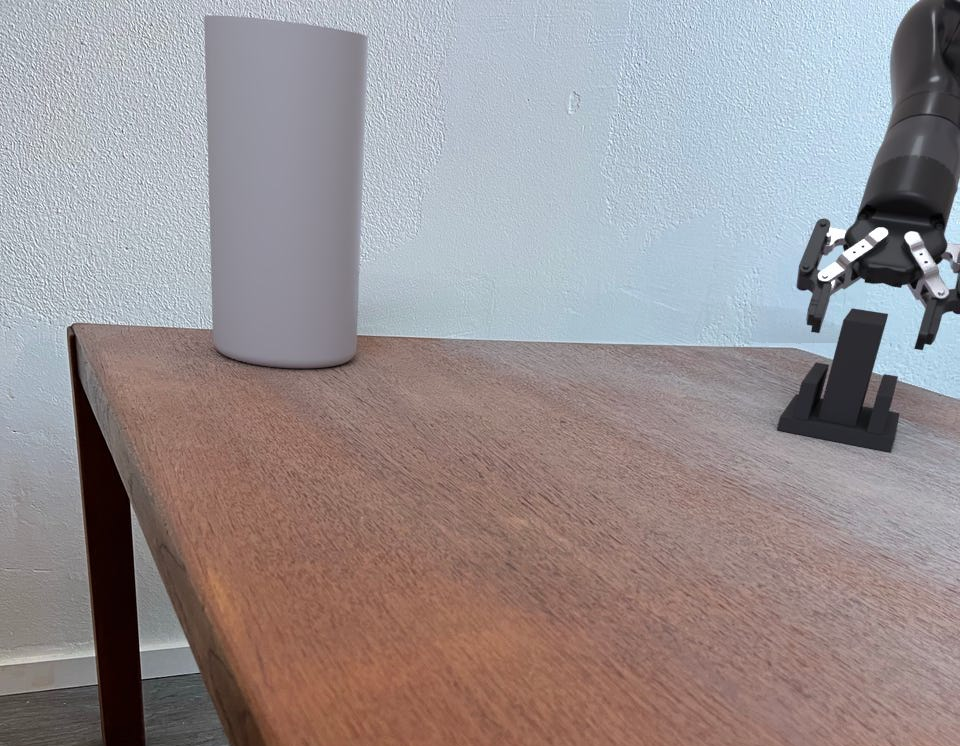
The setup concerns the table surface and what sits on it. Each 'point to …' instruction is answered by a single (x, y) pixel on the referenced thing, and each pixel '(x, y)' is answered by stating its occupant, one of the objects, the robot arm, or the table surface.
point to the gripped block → (852, 366)
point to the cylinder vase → (285, 189)
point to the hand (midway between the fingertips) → (867, 335)
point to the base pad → (869, 431)
